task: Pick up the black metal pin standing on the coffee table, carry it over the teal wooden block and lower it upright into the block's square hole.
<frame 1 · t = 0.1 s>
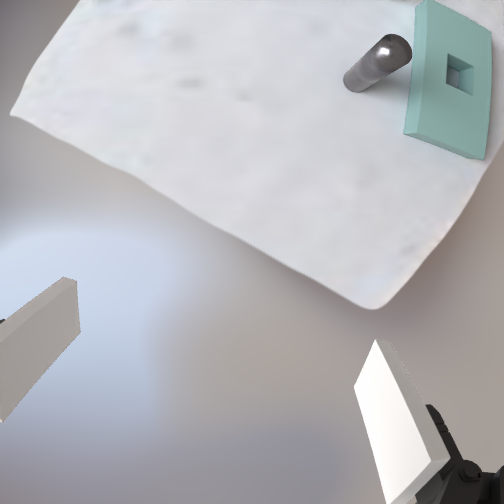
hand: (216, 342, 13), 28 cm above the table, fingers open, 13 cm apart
peg: (355, 81, 33), on the table
hole block: (446, 79, 32), on the table
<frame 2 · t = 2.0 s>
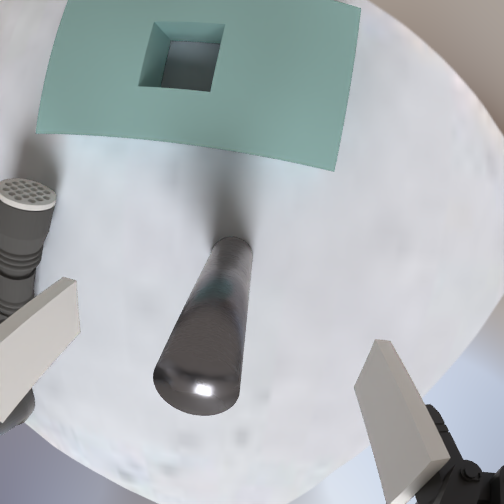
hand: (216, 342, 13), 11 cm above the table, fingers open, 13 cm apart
peg: (232, 256, 23), on the table
hole block: (194, 69, 19), on the table
flashlight: (32, 257, 24), on the table
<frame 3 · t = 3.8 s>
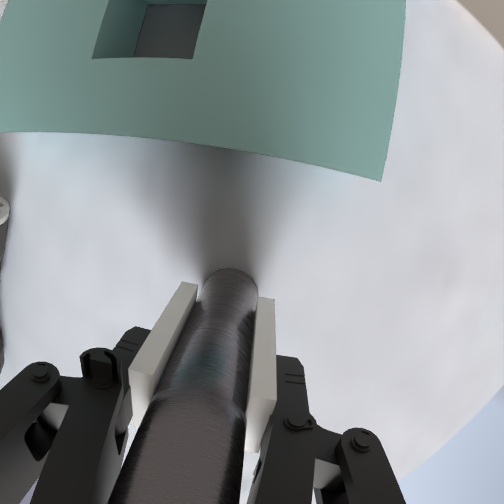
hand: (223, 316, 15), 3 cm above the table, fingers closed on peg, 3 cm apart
peg: (230, 294, 17), on the table, touching gripper
hole block: (177, 38, 13), on the table
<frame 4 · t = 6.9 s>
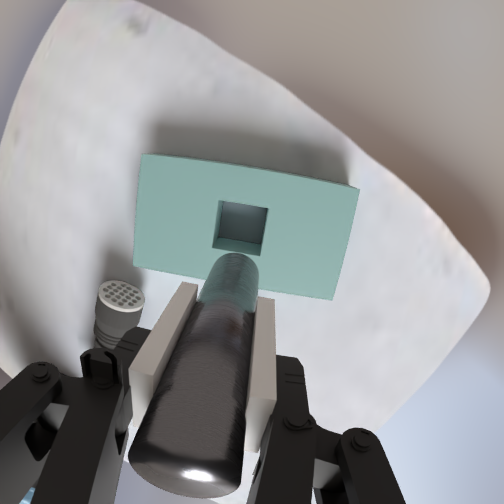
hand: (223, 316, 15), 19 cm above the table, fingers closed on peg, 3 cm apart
peg: (235, 275, 20), point 13 cm above the table, touching gripper
hole block: (242, 219, 32), on the table
flashlight: (119, 329, 38), on the table
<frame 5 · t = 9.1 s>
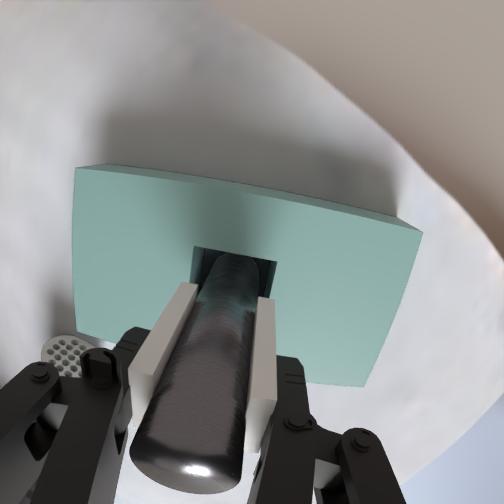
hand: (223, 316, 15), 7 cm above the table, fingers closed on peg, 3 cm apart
peg: (235, 274, 20), point 1 cm above the table, touching gripper
hole block: (235, 266, 21), on the table
flashlight: (81, 389, 27), on the table
when the fingers open (5 cm above the table, at t = 10.1 s): peg stays where it is, resting in hole block.
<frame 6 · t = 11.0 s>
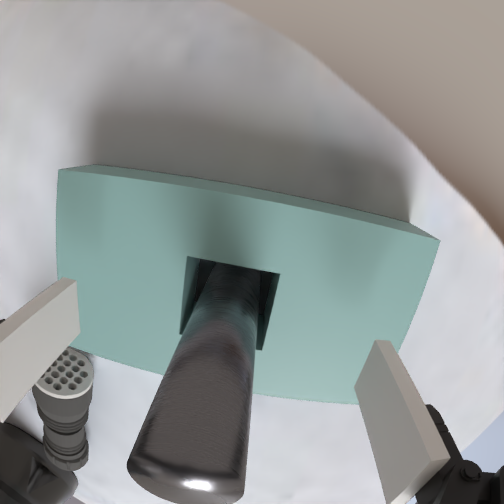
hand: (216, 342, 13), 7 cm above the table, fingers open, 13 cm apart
peg: (236, 276, 19), resting in hole block
hole block: (234, 276, 19), on the table
flashlight: (75, 399, 25), on the table
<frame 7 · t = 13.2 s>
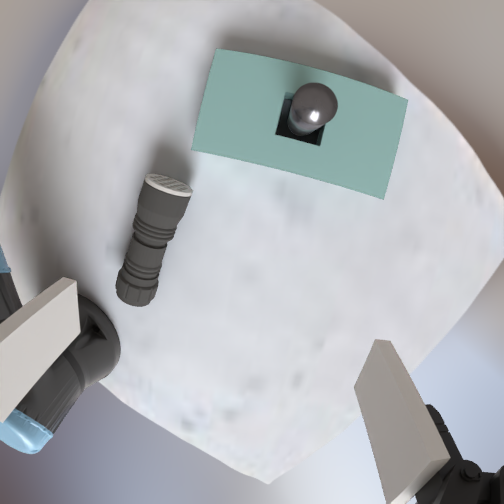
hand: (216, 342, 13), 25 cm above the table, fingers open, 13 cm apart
peg: (301, 122, 32), resting in hole block
hole block: (300, 122, 32), on the table
flashlight: (157, 235, 38), on the table
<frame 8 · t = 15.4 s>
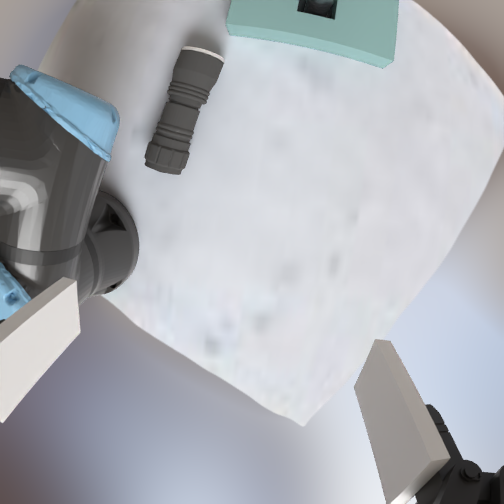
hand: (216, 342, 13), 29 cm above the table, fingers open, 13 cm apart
peg: (315, 13, 31), resting in hole block
hole block: (314, 13, 31), on the table
flashlight: (187, 111, 37), on the table
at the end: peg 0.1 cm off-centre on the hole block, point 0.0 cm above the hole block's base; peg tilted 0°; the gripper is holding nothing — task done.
